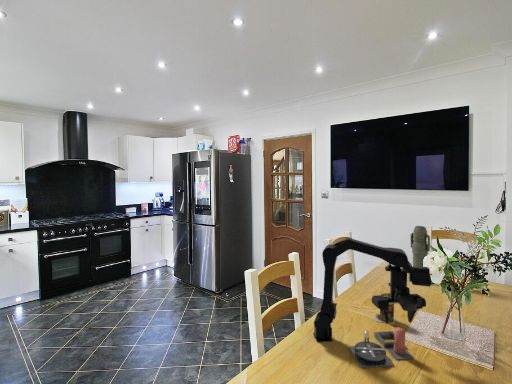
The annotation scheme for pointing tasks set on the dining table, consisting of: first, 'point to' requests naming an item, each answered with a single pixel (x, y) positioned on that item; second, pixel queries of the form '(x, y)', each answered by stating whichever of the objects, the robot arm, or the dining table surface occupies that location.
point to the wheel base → (369, 364)
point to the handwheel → (370, 350)
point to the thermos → (419, 245)
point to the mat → (399, 357)
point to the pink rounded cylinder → (399, 341)
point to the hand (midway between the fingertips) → (398, 322)
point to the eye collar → (381, 335)
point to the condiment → (390, 313)
